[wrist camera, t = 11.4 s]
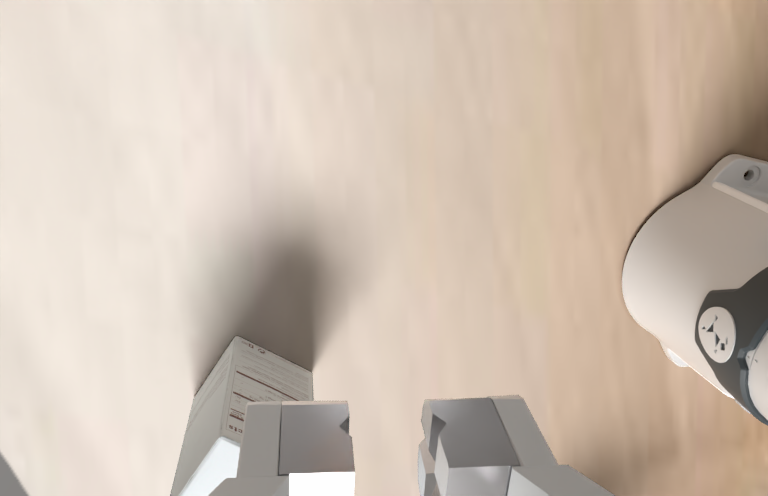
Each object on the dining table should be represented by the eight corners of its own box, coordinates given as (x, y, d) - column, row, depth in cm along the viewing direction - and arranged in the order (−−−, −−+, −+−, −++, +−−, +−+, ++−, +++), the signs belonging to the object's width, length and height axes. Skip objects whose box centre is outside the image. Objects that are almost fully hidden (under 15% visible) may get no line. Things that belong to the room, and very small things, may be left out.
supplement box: (269, 433, 55) (260, 556, 44) (191, 397, 53) (160, 517, 41) (316, 371, 53) (320, 481, 42) (237, 331, 51) (217, 436, 39)
